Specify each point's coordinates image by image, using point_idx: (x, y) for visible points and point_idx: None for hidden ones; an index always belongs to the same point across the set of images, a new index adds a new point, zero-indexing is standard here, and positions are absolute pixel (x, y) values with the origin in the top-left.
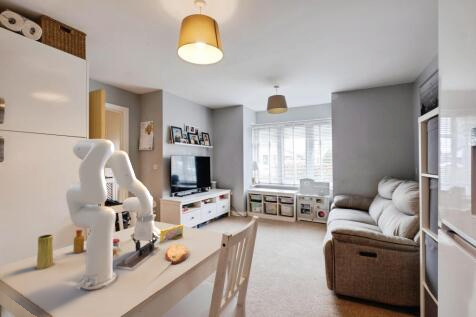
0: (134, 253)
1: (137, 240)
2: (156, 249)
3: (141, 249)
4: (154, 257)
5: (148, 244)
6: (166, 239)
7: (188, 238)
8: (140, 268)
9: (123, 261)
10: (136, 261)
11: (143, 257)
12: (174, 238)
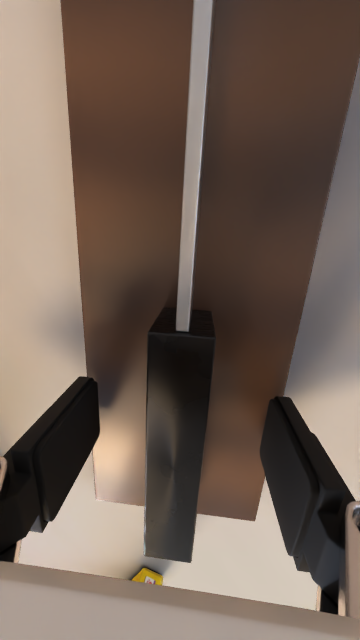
0: (197, 169)
1: (356, 599)
2: (93, 462)
3: (156, 350)
4: (40, 327)
5: (158, 516)
6: None
7: None
8: (2, 3)
9: (327, 73)
10: (122, 115)
11: (105, 259)
12: None
